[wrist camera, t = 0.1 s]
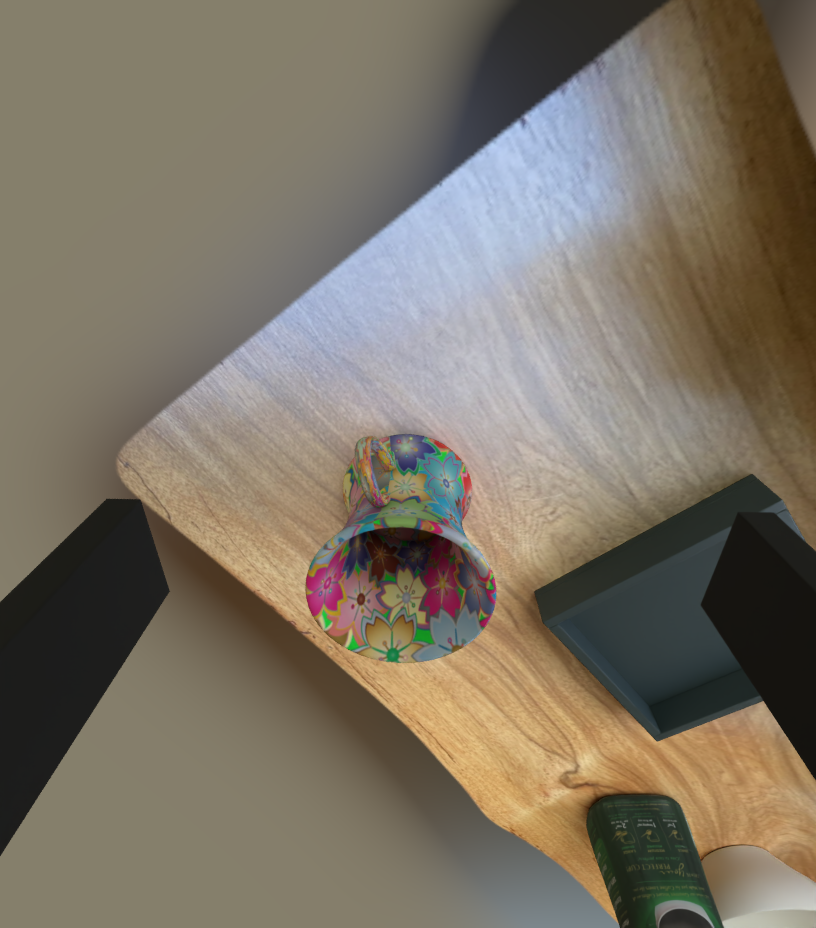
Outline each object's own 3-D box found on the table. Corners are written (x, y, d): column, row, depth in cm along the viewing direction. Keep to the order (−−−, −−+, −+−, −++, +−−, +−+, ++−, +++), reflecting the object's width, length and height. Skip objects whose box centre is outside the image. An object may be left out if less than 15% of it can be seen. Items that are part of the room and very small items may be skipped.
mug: (488, 527, 34) (510, 650, 25) (362, 550, 36) (339, 675, 27) (452, 366, 29) (464, 448, 20) (305, 401, 30) (251, 493, 21)
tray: (534, 591, 37) (542, 622, 35) (752, 473, 32) (782, 499, 29) (642, 707, 44) (657, 742, 41) (840, 626, 38) (872, 659, 35)
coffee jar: (579, 828, 54) (646, 1103, 38) (589, 788, 50) (667, 1075, 34) (670, 829, 53) (776, 1108, 37) (686, 789, 50) (813, 1080, 33)
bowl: (844, 849, 54) (897, 933, 48) (735, 902, 61) (770, 982, 55) (734, 810, 51) (776, 894, 45) (633, 871, 58) (657, 951, 52)
